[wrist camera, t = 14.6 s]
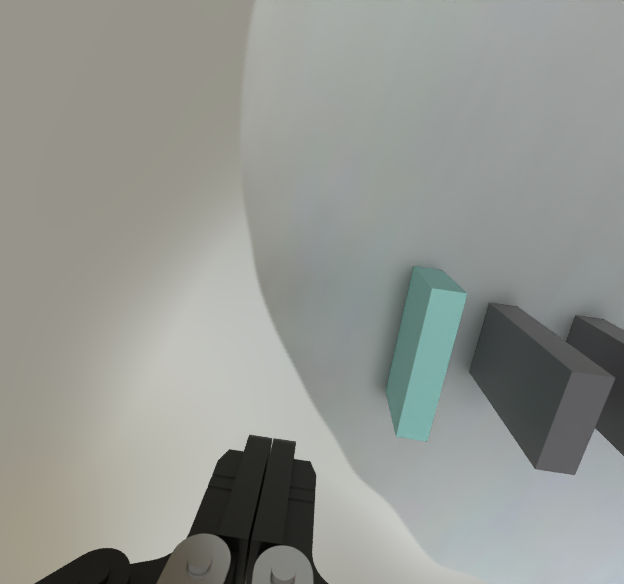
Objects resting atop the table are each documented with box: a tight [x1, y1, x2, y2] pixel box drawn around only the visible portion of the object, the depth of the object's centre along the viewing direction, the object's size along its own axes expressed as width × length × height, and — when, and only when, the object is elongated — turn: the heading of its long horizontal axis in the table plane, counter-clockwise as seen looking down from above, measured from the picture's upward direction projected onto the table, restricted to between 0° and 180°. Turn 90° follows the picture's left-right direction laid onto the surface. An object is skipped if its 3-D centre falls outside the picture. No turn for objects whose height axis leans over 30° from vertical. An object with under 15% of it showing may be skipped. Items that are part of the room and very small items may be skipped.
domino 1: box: [386, 266, 467, 442], centre depth 23 cm, size 2×5×9 cm
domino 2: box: [469, 303, 615, 475], centre depth 21 cm, size 2×5×9 cm, turn 172°
